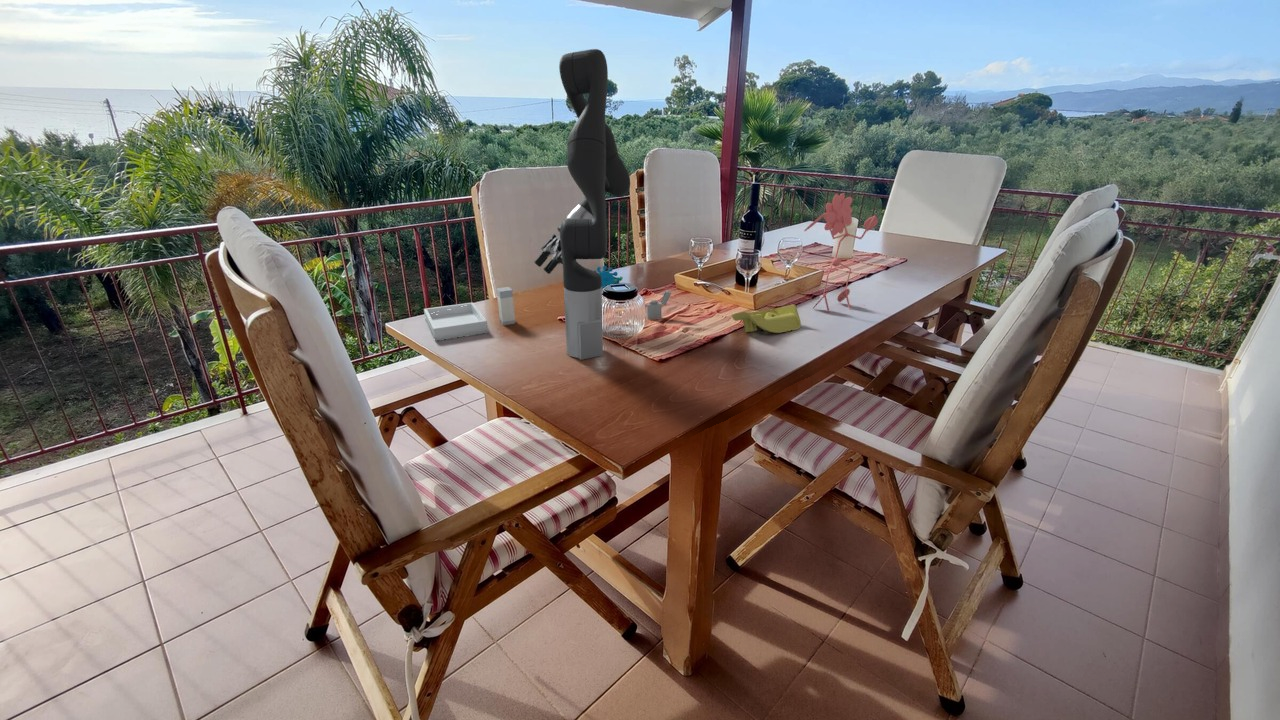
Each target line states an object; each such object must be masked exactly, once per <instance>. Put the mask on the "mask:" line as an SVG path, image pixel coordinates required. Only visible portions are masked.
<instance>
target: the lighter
mask: <svg viewBox="0 0 1280 720" xmlns="http://www.w3.org/2000/svg"><path fill="white" fill-rule="evenodd" d="M671 295H672V292H671V291H669V290H666V289H665V291H664V293H663V295H662V297H661V299H660V301H659V302H658V300H657V299H654V300H653V299H652V300H651V301H649V303H646V318H647V319H648V320H652V319H661V318H662V305H663V306H667V304H668V301H669V299H670V298H671Z"/></svg>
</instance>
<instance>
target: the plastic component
mask: <svg viewBox="0 0 1280 720" xmlns="http://www.w3.org/2000/svg"><path fill="white" fill-rule="evenodd" d="M731 317H732V319H733V320H734V321H743V326H744V330H745V331H744V333H749V332H750V333H751V332H755V331H757V330H758V328H760V329H762V330H763V331H765V332H769V333H774V334H779V333H786V332H790V331H791V330H792V331H795V330H799V329H800V327H801V324H802V323H801V318H800V315H799V312H798V308H797V305H796V306H795V304H788V305H785V306H780V307H776V308H770V309H764V310H758V311H745V310H744V311H741V312H738V313H734V314H731Z"/></svg>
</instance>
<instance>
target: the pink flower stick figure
mask: <svg viewBox="0 0 1280 720" xmlns="http://www.w3.org/2000/svg"><path fill="white" fill-rule="evenodd" d="M845 195H846V193H844V192H843V193H840V194H838V193H835V194H834V195H833V198H832V202H827V203H826V204H825V211H826V212H824V213H822V214H821V215H819V217H816V219H815V220H813V221H812V222H811V223H810V224H809V225H808V226H807V227H806V228H805V229H804V230H803V231H804V232H806V231H808V230H810V229H811V228H812V227H813V226H815V225H816V223H818V222H819V221H821V220H822V218H823V219H824V221H825V222H826V223H825V224H824V230H825V231H829V232H830V234H831V237H832V240H835V239H839V238H840V239H839V240H838V244H837V248H836V252H835V253H836V254H835V256H834V258H833V259H832V260H831V264H830V268H829V269H828V272H827V275H826V280H825V285H824V291H823V294H822V297H817V299H818V301H817V303H815V304H814V306H813V307H812V309H815V308H816V307H817V305H819V304H820V302H822V301H823V299H824V302H825V305H826V306H825V307H826V311H827V313H830V307H829V303H828V299H827V294H828V291H826V289H827V285H828V279H829V274H830V273H831V269H832V268H833V267H839V266H842V267H843V268H844V267H845V268H847V269H848V270H849V272H848V275H847V281H846V285H845V287H844V289H843V290H842V291H841V292H840V293H839V294H838V295H837V298H836V300H837V302H838V303H841V302H842V301H844V300H845V299H846V302H847V308H848V309H851V305H850V300H849V295H850V293H851V290H850V289H849V288H848V283H849V279H850V275H851V273H852V268H851V267H849V266H847V265H845V264H842V259H841V258H839V257H837V256H838V253H839V249H840V245H841V243H842V241H843V240H844V239H845V238H847V237H850V238H851V237H852V238H854V239H858V240H862V239H863V238H864V236H865V235H866V233H867V232H869V231H870V230H872V229H874V228H875V227H877V225H878V222H879V220H878V217H877V216H876V215H873V216H871V217H868V218H867V219H866V220H865V221H864V223H863V228H864V231H863V233H862V235H861V236H857V235H853V234H850V233H849V232H848V228H847V226H850V225H851V224H853V223H852V222H853V218H852V213H853V208H852V207H851V205H852V203H853V197H851V196H848V197H846V196H845ZM845 197H846V198H845ZM843 232H845V233H843ZM838 233H839V234H840V235H837V234H838ZM842 233H843V234H842ZM836 235H837V236H836ZM809 299H811V297H810V298H809V297H808V298H806V300H809ZM796 304H797V303H794V305H795V306H796V307H797V305H796ZM861 305H863V306H866V305H865V304H863V303H861Z"/></svg>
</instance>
